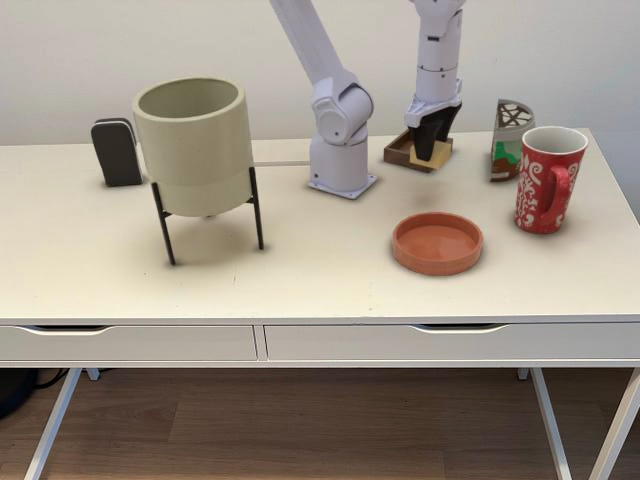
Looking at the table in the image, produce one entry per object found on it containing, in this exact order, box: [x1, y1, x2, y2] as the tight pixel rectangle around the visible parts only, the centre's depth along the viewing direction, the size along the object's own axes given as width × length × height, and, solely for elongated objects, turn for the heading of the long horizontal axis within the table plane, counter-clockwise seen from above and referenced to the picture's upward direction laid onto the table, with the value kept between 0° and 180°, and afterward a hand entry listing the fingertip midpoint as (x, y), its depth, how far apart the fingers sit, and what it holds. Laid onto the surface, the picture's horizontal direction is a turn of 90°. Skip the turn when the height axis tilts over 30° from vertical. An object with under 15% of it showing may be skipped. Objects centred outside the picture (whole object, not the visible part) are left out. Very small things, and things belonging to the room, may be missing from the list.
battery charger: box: [90, 117, 144, 187], centre depth 116 cm, size 7×4×11 cm, turn 92°
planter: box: [131, 74, 265, 266], centre depth 96 cm, size 15×16×23 cm
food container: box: [489, 98, 536, 183], centre depth 111 cm, size 12×6×10 cm, turn 168°
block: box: [410, 140, 451, 170], centre depth 103 cm, size 5×4×2 cm
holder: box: [382, 128, 454, 174], centre depth 119 cm, size 9×9×2 cm
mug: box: [513, 125, 590, 235], centre depth 97 cm, size 13×9×14 cm
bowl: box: [391, 211, 484, 276], centre depth 98 cm, size 13×13×2 cm
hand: (430, 153), depth 103 cm, fingers closed on block, 4 cm apart
